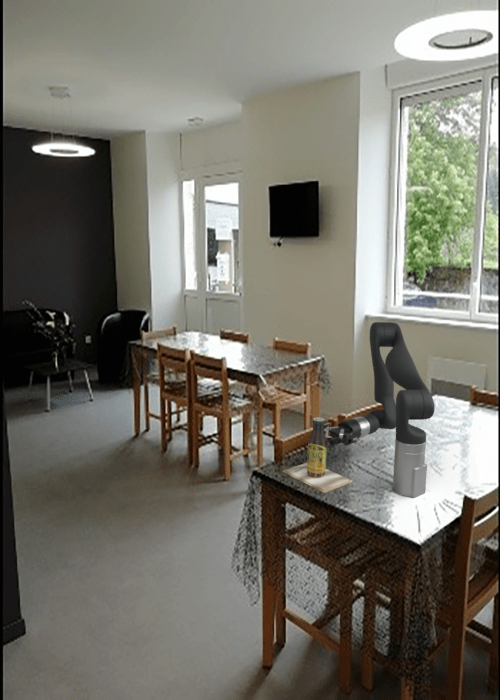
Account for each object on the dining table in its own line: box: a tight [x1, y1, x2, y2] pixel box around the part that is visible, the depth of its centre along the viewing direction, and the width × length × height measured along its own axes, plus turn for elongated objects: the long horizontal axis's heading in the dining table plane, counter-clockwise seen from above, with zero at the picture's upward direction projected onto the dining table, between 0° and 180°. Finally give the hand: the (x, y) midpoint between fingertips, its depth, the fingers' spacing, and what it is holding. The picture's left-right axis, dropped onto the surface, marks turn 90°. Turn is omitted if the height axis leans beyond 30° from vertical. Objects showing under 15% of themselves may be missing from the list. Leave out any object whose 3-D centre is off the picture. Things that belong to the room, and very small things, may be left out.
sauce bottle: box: [306, 416, 328, 477], centre depth 187 cm, size 6×6×20 cm
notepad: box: [282, 462, 353, 494], centre depth 189 cm, size 20×13×1 cm, turn 38°
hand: (321, 439), depth 187 cm, fingers open, 8 cm apart
